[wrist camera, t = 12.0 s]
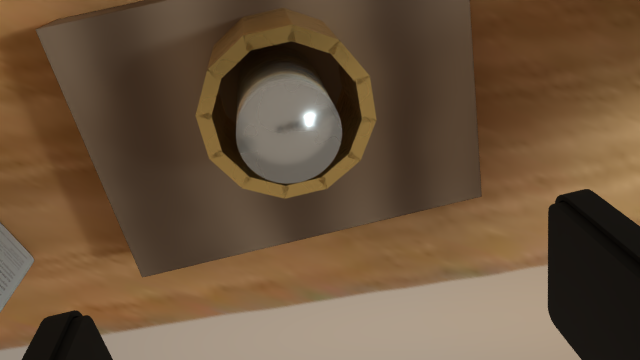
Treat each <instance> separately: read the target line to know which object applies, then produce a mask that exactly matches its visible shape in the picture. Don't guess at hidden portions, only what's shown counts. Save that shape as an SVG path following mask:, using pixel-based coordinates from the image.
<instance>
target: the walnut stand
mask: <svg viewBox="0 0 640 360" xmlns="http://www.w3.org/2000/svg"><path fill="white" fill-rule="evenodd" d="M280 8H286V9H289V10H292V11H295V12H298V13H301V14H303V15H306V16H309V17H312V18H315V19H318V20H321V21H323V22H324V23H325V24H326V26H327V27H328V28H329V29H330V30H331V31H332V32H333V33H334V34H335V36H336V37H337V38H338V39H339V40H340V41H341V42H342V44H343V45H344V46H345V47H346V48H347V50H348V51H349V52H350V53H351V54H352V55H353V57H354V58H355V59H356V60H357V61H358V63H359V64H360V65H361V66H362V67H363V68H364V70H365V71H366V72H367V73H368V74H369V75H370V80H371V87H372V93H373V100H374V107H375V113H376V123H375V125H374V128H373V130H372V133H371V135H370V138H369V140H368V143H367V146H366V148H365V151H364V153H363V156H362V158H361V161H360V162H358V163H357V164H356V165H355V166H354V167H352V168H351V169H350V170H349V171H348V172H346V173H345V174H344V175H343V176H342V177H341V178H339V179H338V180H337V181H336V182H335V183H333V184H332V185H331V186H330V187H329V188H328V189H324V190H320V191H315V192H311V193H307V194H303V195H298V196H294V197H290V198H286V199H284V198H280V197H276V196H271V195H267V194H263V193H259V192H255V191H251V190H247V189H243V188H241V187H240V186H239V185H238V184H237V183H236V182H234V181H233V180H232V179H231V178H230V177H229V176H228V175H227V174H225V173H224V172H223V171H222V170H221V169H220V168H219V167H218V166H217V165H215V164H214V163H213V162H212V161H211V160H210V159H209V157H208V154H207V150H206V147H205V144H204V141H203V138H202V135H201V132H200V128H199V125H198V122H197V119H196V116H195V115H196V112H197V108H198V104H199V100H200V96H201V92H202V88H203V84H204V80H205V76H206V72H207V68H208V65H209V61H210V57H211V53H212V50H213V46H214V44H215V43H217V42H218V41H219V40H220V39H221V38H222V37H223V36H224V35H225V34H226V33H227V32H228V31H229V30H230V29H231V28H232V27H233V26H234V25H235V24H236V23H237V22H238V21H239V20H240V19H241V18H242V17H244V16H249V15H253V14H258V13H262V12H267V11H271V10H276V9H280ZM36 32H37V34H38V37H39V39H40V41H41V44H42V46H43V48H44V51H45V53H46V55H47V57H48V60H49V62H50V64H51V67H52V69H53V71H54V74H55V76H56V78H57V81H58V83H59V85H60V88H61V90H62V92H63V95H64V97H65V99H66V102H67V104H68V106H69V109H70V111H71V113H72V116H73V118H74V120H75V122H76V125H77V127H78V129H79V132H80V134H81V136H82V139H83V141H84V143H85V146H86V148H87V150H88V153H89V155H90V157H91V160H92V162H93V164H94V167H95V169H96V171H97V174H98V176H99V178H100V181H101V183H102V185H103V187H104V190H105V192H106V194H107V197H108V199H109V201H110V204H111V206H112V208H113V211H114V213H115V215H116V218H117V220H118V222H119V225H120V227H121V229H122V232H123V234H124V236H125V239H126V241H127V243H128V246H129V248H130V250H131V252H132V255H133V257H134V259H135V262H136V264H137V266H138V269H139V271H140V273H141V276H142V277H146V276H151V275H155V274H159V273H163V272H167V271H172V270H176V269H180V268H184V267H188V266H193V265H197V264H201V263H205V262H209V261H213V260H218V259H222V258H226V257H230V256H234V255H239V254H243V253H247V252H251V251H255V250H259V249H264V248H268V247H272V246H276V245H280V244H285V243H289V242H293V241H297V240H301V239H306V238H310V237H314V236H318V235H322V234H326V233H331V232H335V231H339V230H343V229H347V228H352V227H356V226H360V225H364V224H368V223H373V222H377V221H381V220H385V219H389V218H393V217H398V216H402V215H406V214H410V213H414V212H419V211H423V210H427V209H431V208H435V207H439V206H444V205H448V204H452V203H456V202H460V201H465V200H469V199H473V198H477V197H481V196H482V195H481V178H480V162H479V146H478V129H477V113H476V96H475V80H474V64H473V47H472V31H471V15H470V0H144V1H139V2H135V3H130V4H126V5H121V6H117V7H112V8H108V9H103V10H99V11H94V12H90V13H85V14H80V15H76V16H71V17H67V18H62V19H58V20H55V21H53V22H51V23H49V24H47V25H44V26H42V27H40V28H38V29H36ZM272 46H286V47H290V48H293V49H295V50H297V51H299V52H301V53H302V54H303V55H305V56H306V57H307V58H308V59H309V61H310V62H311V63H312V65H313V66H314V68H315V70H316V72H317V74H318V76H319V78H320V80H321V82H322V83H323V85H324V87H325V89H326V91H327V93H328V95H329V97H330V99H331V101H332V102H333V104H334V106H336V103H337V101H338V98H339V95H340V92H341V89H342V85H341V80H340V74H339V69H338V63H337V60H336V59H335V58H334V57H333V56H332V55H331V54H330V53H327V52H324V51H321V50H318V49H315V48H312V47H309V46H305V45H302V44H299V43H296V42H293V41H290V42H286V43H281V44H277V45H272ZM268 47H271V46H268ZM263 48H267V47H263ZM263 48H259V49H254V50H251V51H250V52H249V53H248V54H247V55H246V56H244V57H243V58H242V59H241V60H240V61H239V62H238V63H237V64H236V65H235V66H234V67H233V68H232V69H231V70H230V71H229V72H228V73H227V74H225V75H224V76H223V77H222V78H221V82H220V85H219V93H220V96H221V100H222V103H223V106H224V110H225V113H226V115H227V116H228V117H229V118H230V119H231V120H232V121H233V122H234V123H235V124H236V119H237V93H238V78H239V74H240V71H241V69H242V67H243V65H244V64H245V62H246V61H247V60H248V59H249V58H250V57H251V56H252V55H253V54H254V53H256V52H257V51H259V50H261V49H263Z"/></svg>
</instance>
